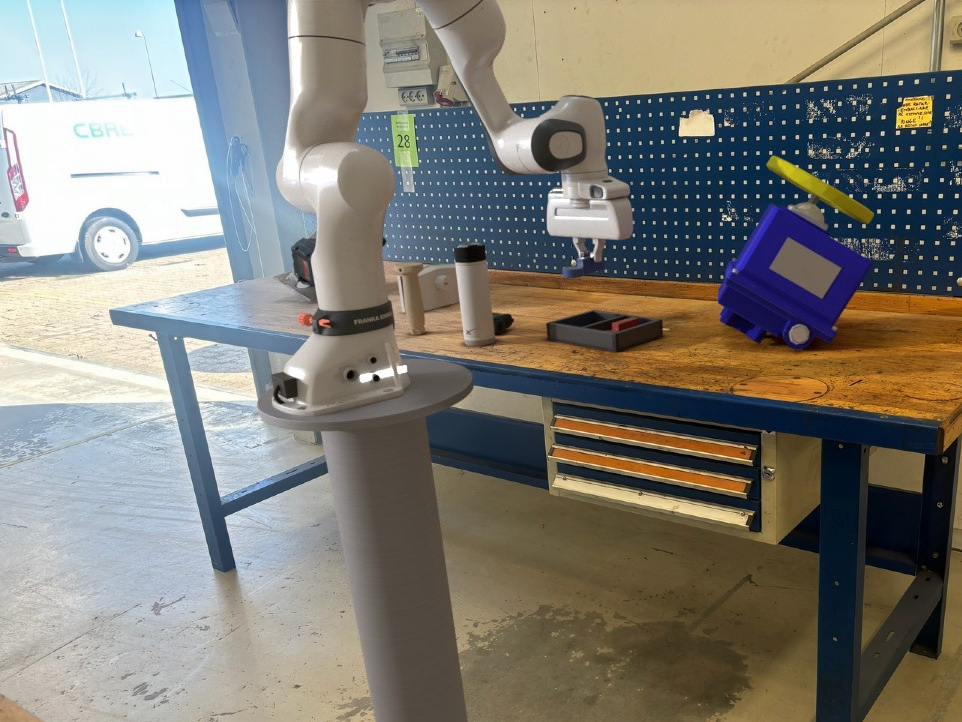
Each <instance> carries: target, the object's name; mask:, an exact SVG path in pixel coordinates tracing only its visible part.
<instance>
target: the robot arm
mask: <svg viewBox="0 0 962 722" xmlns="http://www.w3.org/2000/svg"><path fill="white" fill-rule="evenodd" d="M395 1H396V0H287V45H288V46H287V47H288V65H289V81H290V82H289V87H290V94H289V95H290V98H289V99H290V101H289V111H288V112H289V113H288V120H287V126H286V127H287V128H286V132H285V141H284V147H283V153H282V156H281V158H280V160H279V161H278V164H277V167H276V171H275V178H276V179H275V180H276V185H277V189H278V191H279V192H280V194H281V196H282V197H283V198H284V200H285V201H287V202H288V204H290V205H292V206H293V207H295V208H296V209H298V210H299V211H302V212H304V213H305V214H308V215H312V216H316V221H317V222H316V229H317V239H316V246H315V250H314V252H313V254H312V257H311V266H312V271H313V277H314V283H315V288H316V294H317V299H318V301H317V305H318V307H317V308H316V311H315V313H314V314H311V313H307V312H300V313H299V314H298V316H297V321H298V324H300V325H301V326H306V327H312V330H311V331H312V333H311V335H310V336H309V338H307V340H305V342H304V343H303V344H302V345H301V346H300V347H299V349H298V350H297V351H296V352H295V353H294V354H293V355H292V356H291V357H290V359H289V360H288V361H286V363H285V364H284V369H283V371H280V372H275V373H271V374H270V378H271V383H272V387H274V392H273V397H272V405H273V407H275V408H276V409H278V410H280V411H282V412H285V413H289V414H293V415H299V416H318V415H323V414H327V413H331V412H336V411H340V410H344V409H348V408H353V407H357V406H361V405H365V404H369V403H374V402H378V401H382V400H386V399H391V398H395V397H399V396H402V395H403V394H404V389H405V388H406V387H407V386H409V384H410V383H411V380H410V378H409V376H408V374H407V368H406V366H404V365H403V362H402V359H403V358H402V356H401V353H400V349H399V346H398V342H397V338H396V333H395V330H396V329H395V328H396V322H395V314H394V309H393V304H392V301H391V300H390V298H389V295H388V287H387V280H386V271H385V265H384V255H383V253H384V252H383V247H384V246H383V237H384V230H385V229H384V228H385V221H386V214H387V209H388V207H389V205H390V204H391V203H392V201H393V198H394V196H395V193H396V189H397V188H396V187H397V181H396V174H395V170H394V168H393V166H392V164H391V162H390V161H389V160H388V158H387V157H386V156H385V155H384V154H382V153H381V152H380V151H378V150H377V149H374V148H373V147H370V146H368V145H365V144H363V143H359V142H356V137H357V131H358V127H359V123H360V120H361V117H362V115H363V113H364V111H365V109H366V107H367V104H368V100H369V99H368V98H369V95H368V94H369V93H368V92H369V91H368V66H367V65H368V64H367V41H366V39H367V38H366V27H365V23H366V16H367V13H368V12H367V11H368V8H370V7H372V6H374V5H378V4H390V3H392V2H395ZM412 1H413V2H414V3H415V4H416V5H417V7H419V8H420V10H421V11H422V13H423V14H424V16H425V18H426V20H427V21H428V23H429V24H430V26H431V28H432V29H433V31H434V32H435V34H436V36H437V37H438V40H439V41H440V43H441V44H442V46H443V48H444V50H445V52H446V53H447V55H448V58H449V61H450V64H451V68H452V70H453V73H454V75H455V78H456V80H457V82H458V83H459V86H460V89H462V92H463V93H464V95H465V97H466V99H467V101H468V103H469V105H470V107H471V108H472V110H473V113H474V114H475V116H476V118H477V120H478V121H479V124H480V126H481V128H482V130H483V132H484V134H485V138H486V141H487V146H488V149H489V150H488V151H489V153H490V156H491V158H492V159H491V160H492V161H493V163H494V165H496V167H497V169H499V170H500V171H501V172H502V173H503V174H507V175H508V176H512V177H519V176H525V175H544V174H546V175H547V174H548V175H549V174H550V175H551V174H556V173H560V175H561V176H560V177H561V187H559V186H555V187H552V189H551V190H550V191H549V193H548V195H547V204H546V205H547V206H546V231H547V232H548V234H549V236H552V237H563V238H565V237H566V238H572V242H573V245H574V247H575V249H576V251H577V253H578V258H582V257H586V256H590V257H591V261H592V262H600V261H602V254H603V253H602V252H603V250H604V248H605V246H606V243H607V241H606V240H612V241H622V240H627V239H630V238H631V236H632V234H633V233H634V232H633V231H634V220H633V219H634V218H633V217H634V216H633V210H632V204H631V201H630V199H628V196H629V195H630V192H631V190H630V188H631V187H630V185H629V184H628V183H626V182H623V181H621V180H619V179H617V178H615V177H613V176H612V175H609V168H608V165H607V161H606V150H607V135H606V134H607V133H606V124H605V117H604V112H603V109H602V106H601V103H600V102H599V100H597V99H595V98H594V97H592V96H589V95H583V94H581V95H580V94H579V95H578V94H567V95H566V94H565V95H563V96H561V97H559V99H558V101H557V103H555V105H554V106H552V107H551V108H550V109H549V110H547V111H546V112H544V113H542V114H541V115H539V117H533V118H524V117H521V116H520V115H518V114H516V113H515V112H514V111H513V109H512V108H511V105H510V103H509V102H508V100H507V97H506V96H505V93H504V91H503V89H502V87H501V85H500V84H499V82H498V80H497V77H496V74H495V72H494V61H495V60H496V58H497V57H498V56H499V53H501V51H502V48H503V46H504V43H505V40H506V35H507V23H506V20H505V18H504V15H503V12H502V9H501V8H500V5H499V3H498V2H497V0H412ZM586 239H592V245H594V248H593V251H592V252H591V250H588V249H587V246H586V244H585V242H586V241H587V240H586ZM382 246H383V247H382Z"/></svg>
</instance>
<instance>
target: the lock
mask: <svg viewBox="0 0 962 722" xmlns="http://www.w3.org/2000/svg"><path fill="white" fill-rule="evenodd" d="M396 277H397V284H398V291H399V298H400V306H401V312H402V313H403V314H404V313H405V314H406V311H405V302H404V289H403V280H402V275H401V274H399V275H397V276H396ZM418 280H419V286H420V291H421V296H422V301H423V307H424V312H426V311H431V310H434V309H438V308H443V307H447V306H449V305H453V304H457V303H460V299H459V291H458V283H457V274H456V264H455V263H441V264H426V265H423V270H422V271H421V272H420V273H418Z"/></svg>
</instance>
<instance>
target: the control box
mask: <svg viewBox="0 0 962 722" xmlns="http://www.w3.org/2000/svg"><path fill="white" fill-rule="evenodd" d="M765 166H766V167H767V168H768V170H769V171H771V172H773V173H775V174H776V175H778V176H780V177H781V178H782V179H784V180H786V181H788V182H789V183H791V184H793V185H794V186H796V187H798V188H799V189H801V190H803V191H804V192H806V193H808V194H810V195H811V196H810V197H809V199H808V200H807V201H806V202H800V203H797V204H795V205H794V204H793V203H791V204H788V206H787V207H785V205H782V206H781V207H779V206H777V205H775V204H774V203H769V204H768V206H767V208H766V209H765V211H764V213H763V214H762V216H761V218H760V220H759V221H758V223H757V225H756V226H755V228H754V230H753V231H752V233H751V235H750V237H749V238H748V240H747V241H746V243H745V245H744V247H742V250H741V251H740V253H739V255H738V257H737V258H735V257H733V258H732V260H729V262H728V263H727V265H726V266H725V268H724V278H723V280H722V282H721V284H720V286H719V288H718V291H717V304H718V305H720V306H721V307H722V309H721V311H720V313H719V316H720V318H719V319H718V320H719V322H721V323H722V324H724V325H725V326H728V327H730V328H733V329H734V330H736V331H738V332H739V333H741V334H743V335H745V336H746V337H748V338H749V339H751V341H753V342H754V343H757V344H761V343H762V341H764V338H765V336H766V335H767V333H768V334H771V335H772V336H773V337H776V338H778V337H779V336H782V339H783V340H784V342H785V344H786V345H787V347H788V348H790V349H793V350H797V351H799V350H804V349H806V348H807V347H809V345H810V344H811V343H812V341H813V340H814V339H815V337H816V338H818V339H820V340H822V341H824V342H825V343H828V344H830V343H832V341H833V340H834V339H835V337H836V335H837V331H838V329H839V328H838V327H837V326H835V325H836V323H837V321H838V320H839V319H840V317H841V316H842V314H843V312H844V311H845V310H846V308H847V306H848V305H849V303H850V302H851V300H852V299H853V297H854V295H855V294H856V292H857V291H858V289H859V288H860V286H861V284H862V283H863V281H864V280H865V278H866V277H867V275H868V274H869V272H870V270H871V269H872V268H873V266H874V263H873V262H872V261H871V260H869V259H868V258H867V257H865V256H863V255H862V254H860V253H859V252H857V251H855V250H854V249H852V248H850V247H849V246H847V245H845V244H843V243H841V242H840V241H838V240H836V239H835V238H833V237H831V236H830V234H831V233H830V232H828V231H827V230H828V228H829V225H828V224H827V223H825V217H824V213H823V211H822V210H821V209H820V208H819V207H818V206H817V204H818V202H819V201H822V202H823V203H825V204H826V205H828V206H830V207H831V208H834V209H835V210H837V211H839V212H841V213H843V214H845V215H846V216H849V217H850V218H852V219H854V220H856V221H858V222H860V223H862V224H864V225H866V226H867V225H868V224H870V223H871V221H872V220H873V218H874V216H875V213H874V212H873V211H871V210H870V209H869V208H868V207H866V206H865V205H863V204H862V203H860V202H858V201H857V200H855V199H853V198H852V197H850V196H849V195H847V194H846V193H844V192H842V191H840V190H839V189H837V188H835V187H833V186H832V185H830V184H829V183H827V182H825V181H823V180H821V179H820V178H819V177H816V176H814V175H812V174H811V173H809V172H807V171H805V170H803V169H802V168H800V167H798V166H796V165H795V164H792V163H791V162H789V161H787V160H785V159H783V158H780V157H779V156H776V155H771V157H770V158H769V160H768V161H767V163H766V164H765Z"/></svg>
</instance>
